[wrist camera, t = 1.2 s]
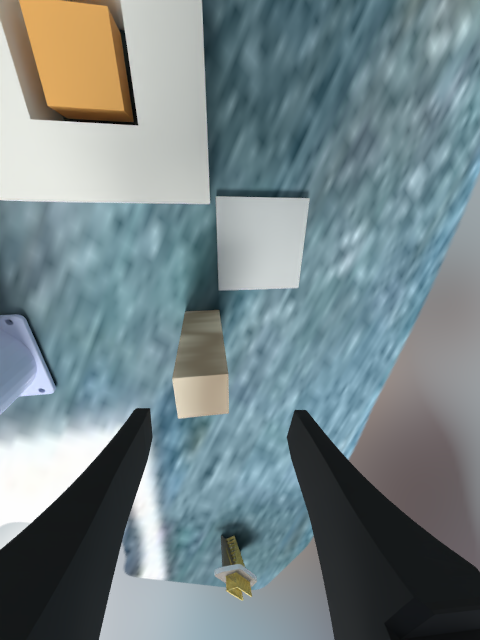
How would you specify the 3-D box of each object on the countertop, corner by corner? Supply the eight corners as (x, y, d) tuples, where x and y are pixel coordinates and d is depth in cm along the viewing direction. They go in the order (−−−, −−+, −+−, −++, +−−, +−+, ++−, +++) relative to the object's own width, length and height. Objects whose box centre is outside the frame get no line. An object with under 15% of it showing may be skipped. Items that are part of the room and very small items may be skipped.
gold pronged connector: (245, 504, 36) (253, 561, 30) (282, 544, 44) (293, 595, 39) (178, 532, 37) (174, 592, 31) (226, 566, 45) (229, 619, 39)
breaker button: (66, 118, 13) (47, 105, 11) (44, 25, 11) (17, -5, 10) (133, 122, 13) (124, 110, 12) (120, 33, 12) (107, 5, 10)
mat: (218, 288, 20) (218, 290, 19) (215, 196, 17) (215, 196, 16) (296, 286, 21) (298, 287, 20) (307, 198, 18) (309, 198, 17)
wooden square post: (188, 340, 22) (178, 418, 14) (185, 311, 20) (172, 378, 12) (220, 338, 22) (228, 413, 14) (219, 309, 21) (228, 374, 13)
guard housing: (28, 201, 15) (-17, 199, 12) (-79, -106, 10) (-206, -248, 7) (209, 204, 17) (210, 203, 14) (197, -61, 12) (195, -160, 8)
